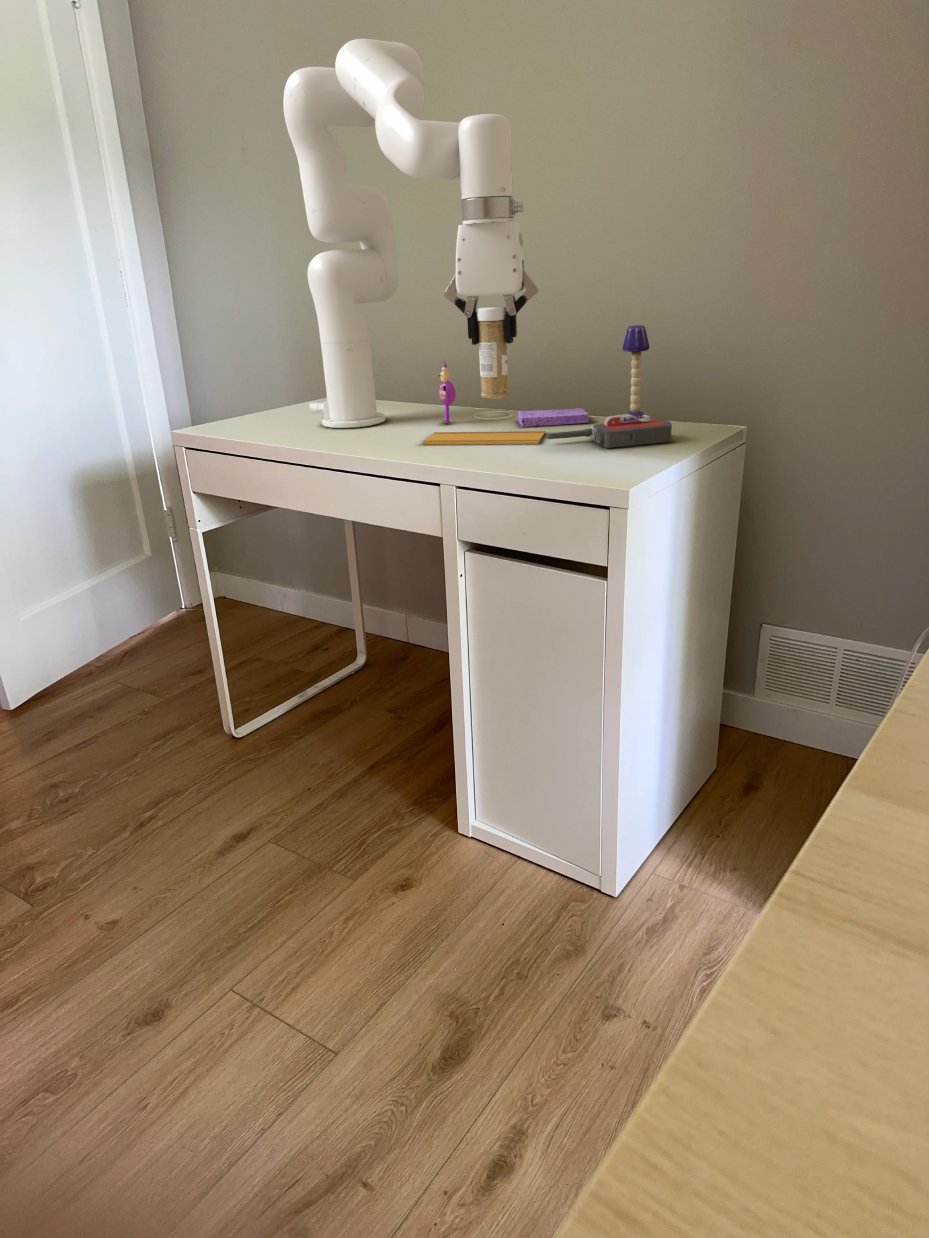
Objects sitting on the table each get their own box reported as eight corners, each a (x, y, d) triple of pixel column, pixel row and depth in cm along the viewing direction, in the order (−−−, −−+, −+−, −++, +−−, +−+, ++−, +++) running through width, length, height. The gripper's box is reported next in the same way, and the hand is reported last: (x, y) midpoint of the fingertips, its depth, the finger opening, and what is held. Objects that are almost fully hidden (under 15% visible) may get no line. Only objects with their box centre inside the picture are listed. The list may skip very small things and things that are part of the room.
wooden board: (422, 445, 146) (422, 442, 146) (435, 434, 154) (435, 431, 154) (538, 444, 142) (538, 441, 142) (545, 433, 150) (545, 430, 150)
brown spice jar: (514, 396, 134) (512, 306, 129) (491, 400, 132) (487, 308, 127) (498, 393, 138) (494, 305, 132) (474, 397, 135) (470, 307, 130)
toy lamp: (649, 423, 153) (652, 326, 146) (623, 425, 153) (625, 327, 146) (644, 419, 157) (647, 324, 151) (619, 420, 157) (620, 325, 151)
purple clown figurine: (442, 418, 169) (438, 356, 164) (458, 418, 169) (454, 355, 164) (439, 429, 158) (435, 362, 154) (456, 428, 158) (452, 361, 154)
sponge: (517, 420, 162) (517, 410, 162) (583, 417, 162) (583, 407, 162) (520, 427, 156) (520, 417, 155) (589, 423, 156) (589, 413, 155)
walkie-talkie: (657, 432, 145) (545, 443, 142) (658, 406, 143) (544, 416, 140) (680, 442, 137) (561, 453, 134) (681, 414, 135) (560, 425, 132)
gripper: (548, 210, 126) (550, 339, 133) (438, 217, 130) (445, 342, 137) (541, 208, 119) (544, 344, 126) (425, 216, 123) (433, 347, 130)
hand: (492, 342), depth 131 cm, fingers closed on brown spice jar, 4 cm apart
